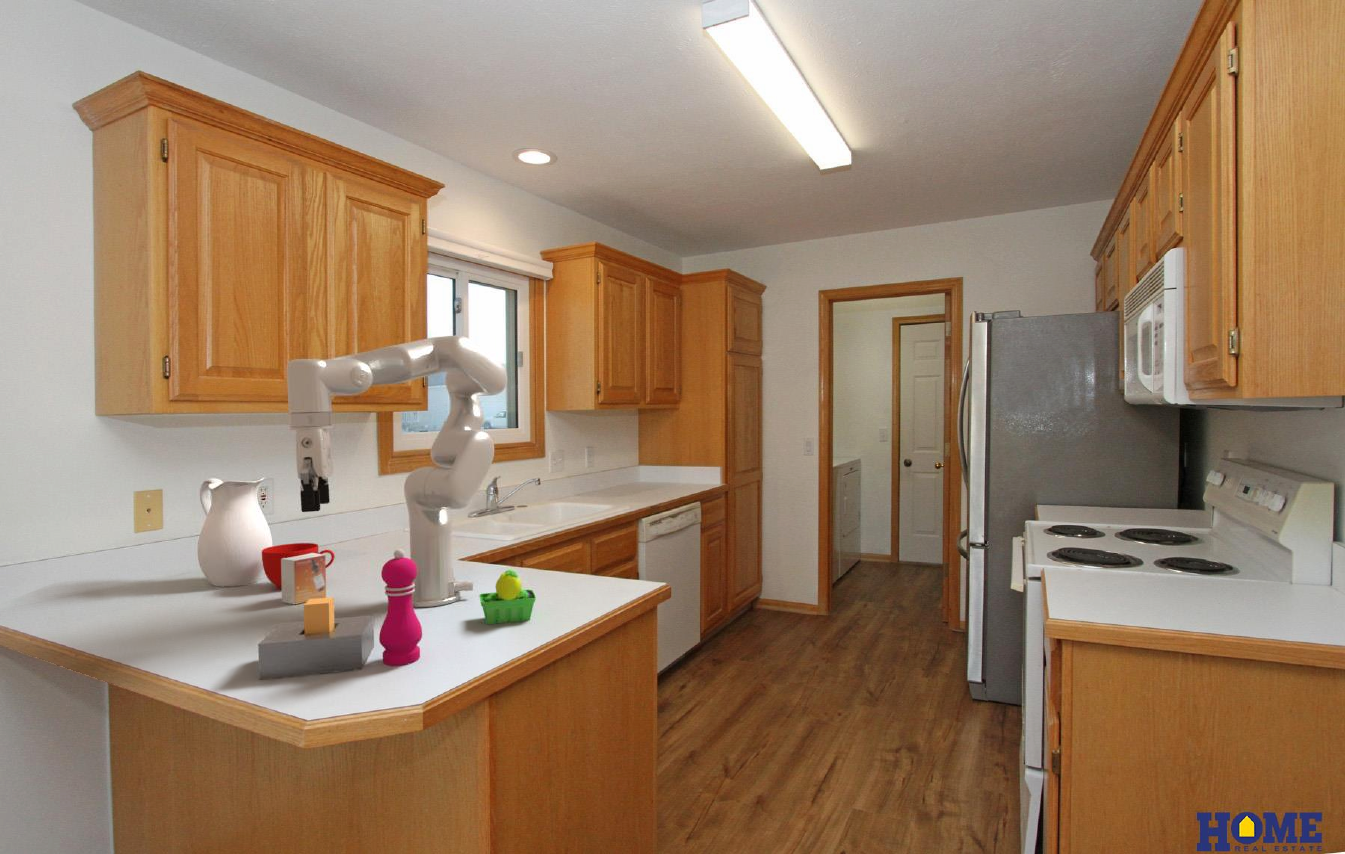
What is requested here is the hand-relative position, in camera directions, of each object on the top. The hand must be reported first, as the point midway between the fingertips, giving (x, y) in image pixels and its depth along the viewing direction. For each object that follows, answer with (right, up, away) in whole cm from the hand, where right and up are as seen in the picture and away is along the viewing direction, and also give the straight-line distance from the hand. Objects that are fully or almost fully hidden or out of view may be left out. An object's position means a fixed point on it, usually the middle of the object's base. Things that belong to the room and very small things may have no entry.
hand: (316, 507), depth 137 cm
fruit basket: (+36, -25, +10) cm, 45 cm away
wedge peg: (+8, -26, -14) cm, 31 cm away
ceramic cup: (-26, -26, +42) cm, 56 cm away
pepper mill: (+22, -26, -13) cm, 37 cm away
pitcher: (-49, -26, +49) cm, 74 cm away
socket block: (+8, -26, -14) cm, 31 cm away
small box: (-17, -26, +28) cm, 42 cm away
